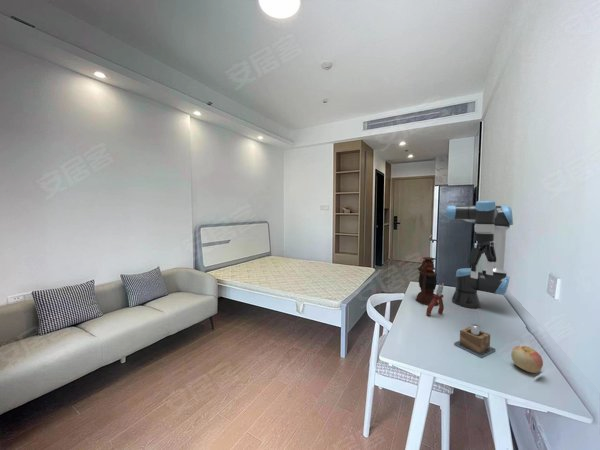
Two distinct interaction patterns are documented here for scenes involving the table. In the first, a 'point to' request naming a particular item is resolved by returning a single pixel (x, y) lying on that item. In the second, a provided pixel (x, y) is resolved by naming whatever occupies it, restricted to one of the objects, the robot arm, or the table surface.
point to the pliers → (436, 298)
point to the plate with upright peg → (482, 354)
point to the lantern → (427, 282)
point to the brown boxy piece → (475, 340)
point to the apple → (527, 359)
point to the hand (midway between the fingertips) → (481, 276)
